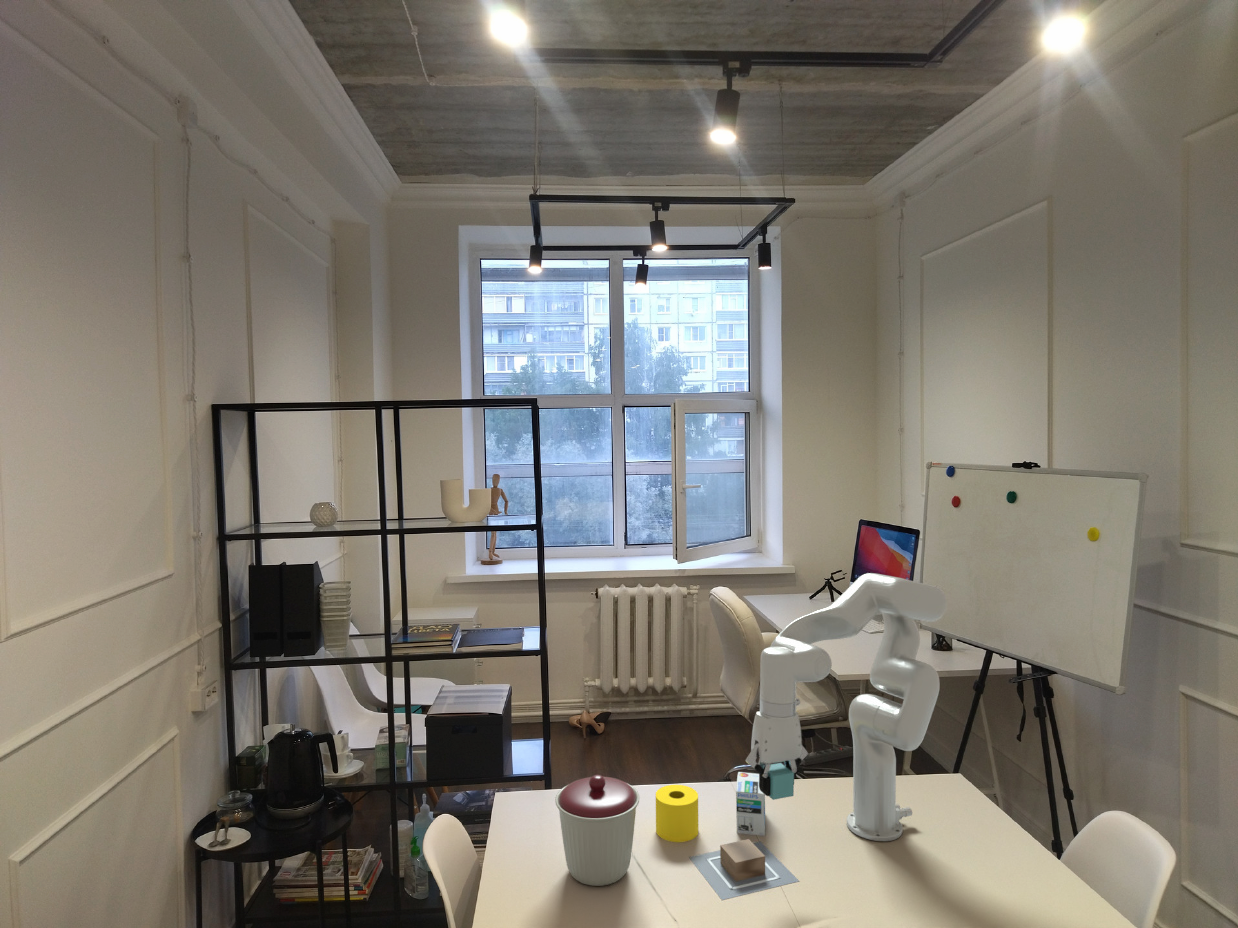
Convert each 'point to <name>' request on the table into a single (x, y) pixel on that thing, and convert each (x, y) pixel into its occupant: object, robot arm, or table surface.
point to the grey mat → (730, 888)
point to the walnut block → (742, 860)
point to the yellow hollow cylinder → (677, 813)
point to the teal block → (781, 781)
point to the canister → (597, 828)
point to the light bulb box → (750, 805)
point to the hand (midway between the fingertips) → (776, 790)
